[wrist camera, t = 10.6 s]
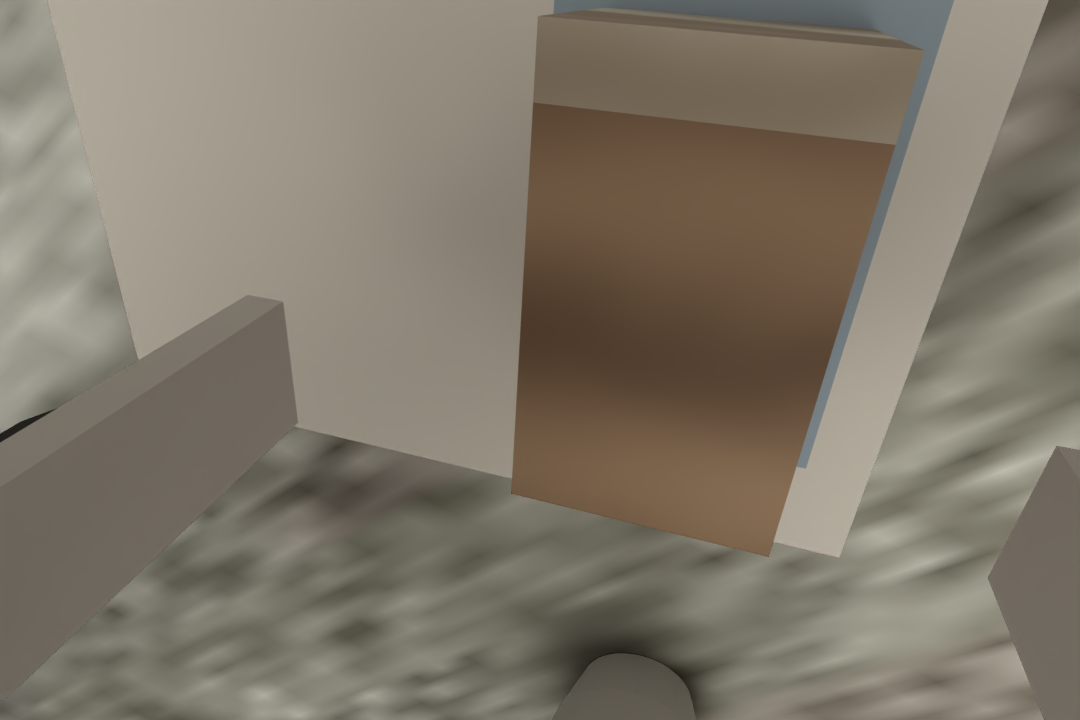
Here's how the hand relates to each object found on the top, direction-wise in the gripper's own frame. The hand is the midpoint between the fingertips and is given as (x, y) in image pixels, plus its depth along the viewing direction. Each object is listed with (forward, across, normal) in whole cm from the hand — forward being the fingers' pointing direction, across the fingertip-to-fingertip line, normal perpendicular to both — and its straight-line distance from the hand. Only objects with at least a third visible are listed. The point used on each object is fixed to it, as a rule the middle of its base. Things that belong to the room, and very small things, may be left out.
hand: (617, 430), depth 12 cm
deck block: (+11, -1, 0) cm, 11 cm away
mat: (+11, +7, 0) cm, 14 cm away
